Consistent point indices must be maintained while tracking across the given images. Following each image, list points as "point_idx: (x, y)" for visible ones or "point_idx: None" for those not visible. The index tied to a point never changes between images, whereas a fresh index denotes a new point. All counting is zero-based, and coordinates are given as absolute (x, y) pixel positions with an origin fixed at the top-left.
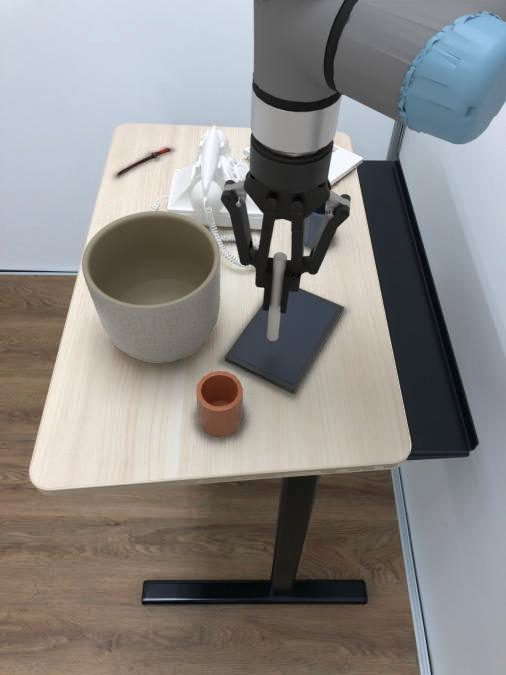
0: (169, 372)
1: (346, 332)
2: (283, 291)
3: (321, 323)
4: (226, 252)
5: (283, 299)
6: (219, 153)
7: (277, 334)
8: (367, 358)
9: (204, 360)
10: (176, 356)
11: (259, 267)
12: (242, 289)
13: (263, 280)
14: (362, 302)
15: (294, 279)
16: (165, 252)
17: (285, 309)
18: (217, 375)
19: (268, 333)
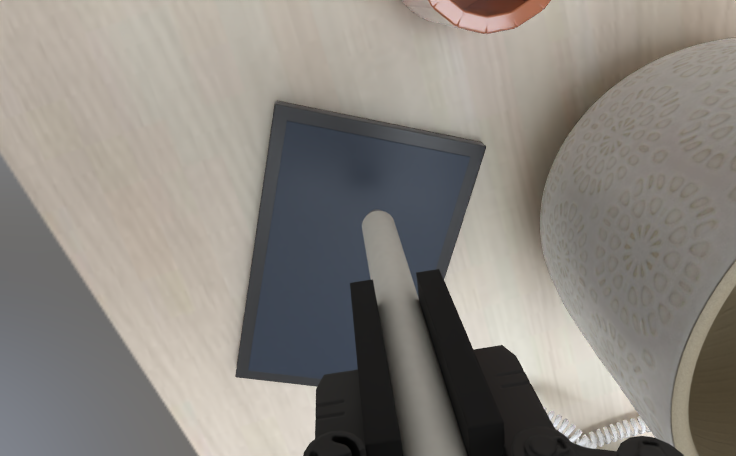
0: (616, 59)
1: (209, 315)
2: (380, 359)
3: (273, 318)
4: (555, 425)
5: (371, 327)
6: None
7: (364, 231)
8: (133, 263)
9: (532, 125)
10: (636, 75)
11: (554, 452)
12: (485, 346)
13: (488, 383)
14: (202, 400)
15: (336, 442)
16: None
17: (354, 294)
18: (514, 7)
19: (391, 224)
